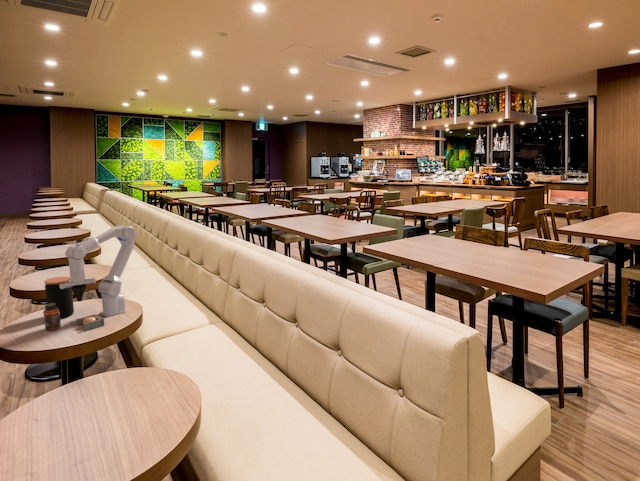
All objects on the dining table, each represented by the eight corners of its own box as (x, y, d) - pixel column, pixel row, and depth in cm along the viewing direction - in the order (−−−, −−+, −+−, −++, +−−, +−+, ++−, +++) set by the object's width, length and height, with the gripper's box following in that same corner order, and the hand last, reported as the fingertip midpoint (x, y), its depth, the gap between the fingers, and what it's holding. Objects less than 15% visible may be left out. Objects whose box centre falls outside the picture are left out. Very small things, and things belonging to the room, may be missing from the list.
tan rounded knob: (93, 323, 193) (92, 315, 193) (98, 325, 190) (97, 318, 189) (81, 326, 189) (81, 318, 189) (86, 329, 186) (85, 321, 186)
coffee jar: (79, 312, 207) (75, 277, 203) (62, 320, 196) (58, 283, 193) (60, 311, 208) (56, 276, 205) (42, 318, 198) (38, 282, 195)
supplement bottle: (64, 326, 189) (61, 302, 187) (54, 331, 183) (52, 306, 181) (52, 325, 190) (49, 301, 188) (42, 330, 184) (39, 306, 182)
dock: (95, 320, 196) (94, 314, 196) (104, 325, 190) (103, 319, 190) (77, 325, 190) (76, 319, 189) (85, 330, 184) (85, 324, 184)
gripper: (62, 276, 181) (65, 306, 184) (97, 270, 193) (99, 299, 195) (56, 273, 186) (59, 303, 188) (91, 268, 197) (93, 296, 199)
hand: (79, 300), depth 192 cm, fingers closed
